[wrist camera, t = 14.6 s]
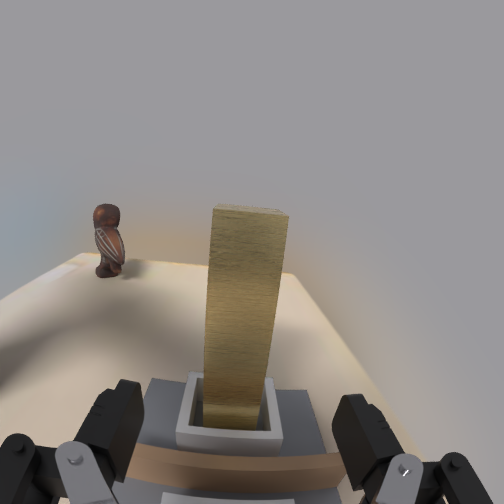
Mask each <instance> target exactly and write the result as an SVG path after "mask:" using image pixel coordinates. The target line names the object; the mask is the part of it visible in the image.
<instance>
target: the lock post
mask: <svg viewBox="0 0 504 504" xmlns="http://www.w3.org/2000/svg"><path fill="white" fill-rule="evenodd" d="M288 219H289V216H288V215H286V214H285V213H283V212H281V211H280V210H276V209H267V208H258V207H248V206H238V205H228V204H218V205H216V206H215V207H214V208H213V217H212V228H211V229H212V230H211V241H210V254H209V268H208V284H207V302H206V322H205V346H204V381H203V427H205V428H215V429H228V430H246V431H255V430H256V425H257V420H258V415H259V409H260V404H261V398H262V393H263V387H264V381H265V375H266V370H267V364H268V358H269V352H270V346H271V339H272V333H273V327H274V320H275V314H276V307H277V300H278V294H279V287H280V280H281V273H282V265H283V258H284V250H285V242H286V235H287V228H288Z"/></svg>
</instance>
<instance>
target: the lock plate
mask: <svg viewBox="0 0 504 504" xmlns="http://www.w3.org/2000/svg"><path fill="white" fill-rule="evenodd" d="M203 381H204V373H201V372H192V371H189V375H188V379H187V383H181V382H174V381H167V380H161V379H155V378H152V379H151V382H150V384H149V387H148V389H147V392H146V394H145V397H144V399H143V404H144V411H145V414H144V421H143V425H142V428H141V431H140V434H139V436H138V439H137V442H136V445H135V448H134V452H133V455H132V458H131V461H130V464H129V467H128V470H127V473H126V477H125V480H124V483H120V482H117V481H114V484H113V487H112V490H113V492H114V494H115V496H116V498H117V500H118V502H119V504H342V503H341V499H340V496H339V493H338V489H337V486H338V484H339V483H340V481H341V480H342V478H343V477H344V476H345V474H346V473H347V472H346V469H345V466H344V463H343V460H342V458H341V455H340V452H337V453H329V454H326V450H325V447H324V444H323V441H322V437H321V434H320V431H319V428H318V425H317V421H316V418H315V415H314V412H313V409H312V406H311V402H310V399H309V396H308V393H307V390H275V387H274V382H273V378H271V377H265V381H264V387H263V393H262V398H261V404H260V409H259V415H258V420H257V425H256V430H255V431H246V430H228V429H215V428H205V427H203Z"/></svg>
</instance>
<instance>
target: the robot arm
mask: <svg viewBox="0 0 504 504" xmlns="http://www.w3.org/2000/svg"><path fill="white" fill-rule="evenodd" d="M144 414H145V411H144V404H143V398H142V391H141V385H140V383H139V382H133V381H129V380H124V379H121V380H120V381H119V383H118V384H117V386H116V388H115V390H112V389H106V390H105V391H104V392H102V393H101V394H100V395H98V397H97V399H96V401H95V402H94V405H93V406H92V408H91V409H90V413H88V415H87V417H86V418H85V420H84V422H83V424H82V426H81V427H80V429H79V431H78V433H77V435H76V437H75V438H74V440H73V441H69V442H65V443H63V444H61V445H60V446H59V447H58V448H51V447H43V446H37V445H35V444H34V443H33V441H32V440H31V439H30V438H29V437H28V436H26V435H24V434H19V433H17V434H12V435H10V436H8V437H7V438H6V439H5V440H4V442H3V444H2V445H1V447H0V504H58V502H59V499H60V497H63V498H69V501H70V504H119V502H118V500H117V498H116V496H115V494H114V492H113V490H112V487H113V484H114V481H117V482H120V483H124V480H125V477H126V473H127V470H128V467H129V464H130V461H131V458H132V455H133V452H134V448H135V445H136V442H137V439H138V436H139V434H140V431H141V428H142V425H143V421H144ZM332 432H333V435H334V438H335V441H336V444H337V446H338V449H339V452H340V455H341V458H342V460H343V463H344V466H345V469H346V472H347V474H348V477H349V480H350V483H351V486H352V489H353V491H357V490H362V489H364V492H365V494H364V496H363V497H362V499H361V501H360V503H359V504H446V503H445V501H444V499H443V496H444V495H445V497H446V499H447V501H448V503H449V504H493V502H492V500H491V499H490V497H489V495H488V493H487V492H486V490H485V488H484V487H483V485H482V483H481V481H480V480H479V478H478V477H477V475H476V473H475V471H474V470H473V468H472V466H471V465H470V463H469V462H468V460H467V459H466V457H465V456H463V455H462V454H460V453H456V452H451V453H448V454H446V455H445V456H444V457H443V458H442V459H441V460H440V461H439V462H421V460H420V459H419V458H417V457H416V456H414V455H412V454H405V452H404V451H403V449H402V447H401V445H400V444H399V442H398V440H397V438H396V437H395V435H394V433H393V431H392V430H391V428H390V426H389V424H388V423H387V421H386V419H385V417H384V416H383V414H382V412H381V411H380V410H379V409H378V408H376V407H375V406H374V405H373V404H368V403H367V402H366V400H365V398H364V396H363V395H362V394H351V395H344V396H342V398H341V400H340V403H339V406H338V408H337V411H336V413H335V416H334V418H333V421H332Z"/></svg>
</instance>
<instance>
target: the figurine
mask: <svg viewBox="0 0 504 504" xmlns="http://www.w3.org/2000/svg"><path fill="white" fill-rule="evenodd" d="M93 221H94V227H95V241H96V244H97V247H98V249H99V251H100V253H101V262H100V265H99V266H98V267H97V268H96V275H97V276H98V277H100V278H106V277H114V276H117V275H118V273H121V270H122V269H121V265H123V264H124V261H125V251H124V245H123V241H122V239H121V237H120V234H119V231H118V230H117V227H118V225H119V221H120V211H119V208H118V207H117V206H115V205H112V204H102V205H99V206H98V207H96V209H95V211H94V214H93Z"/></svg>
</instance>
